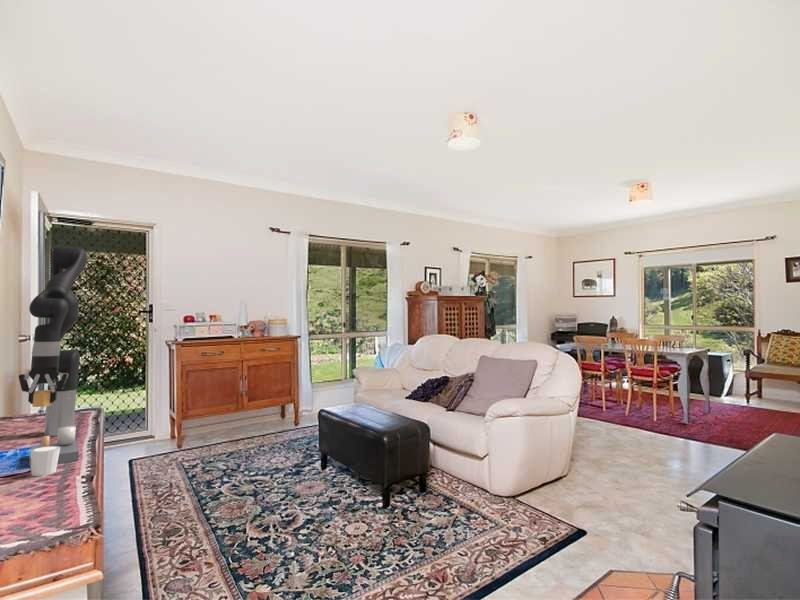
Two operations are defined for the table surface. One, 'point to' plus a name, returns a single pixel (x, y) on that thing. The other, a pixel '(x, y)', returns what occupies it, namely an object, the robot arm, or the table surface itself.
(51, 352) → the robot arm
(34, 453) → the white tapered cup
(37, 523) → the table surface
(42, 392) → the orange wire cap
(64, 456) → the plate
